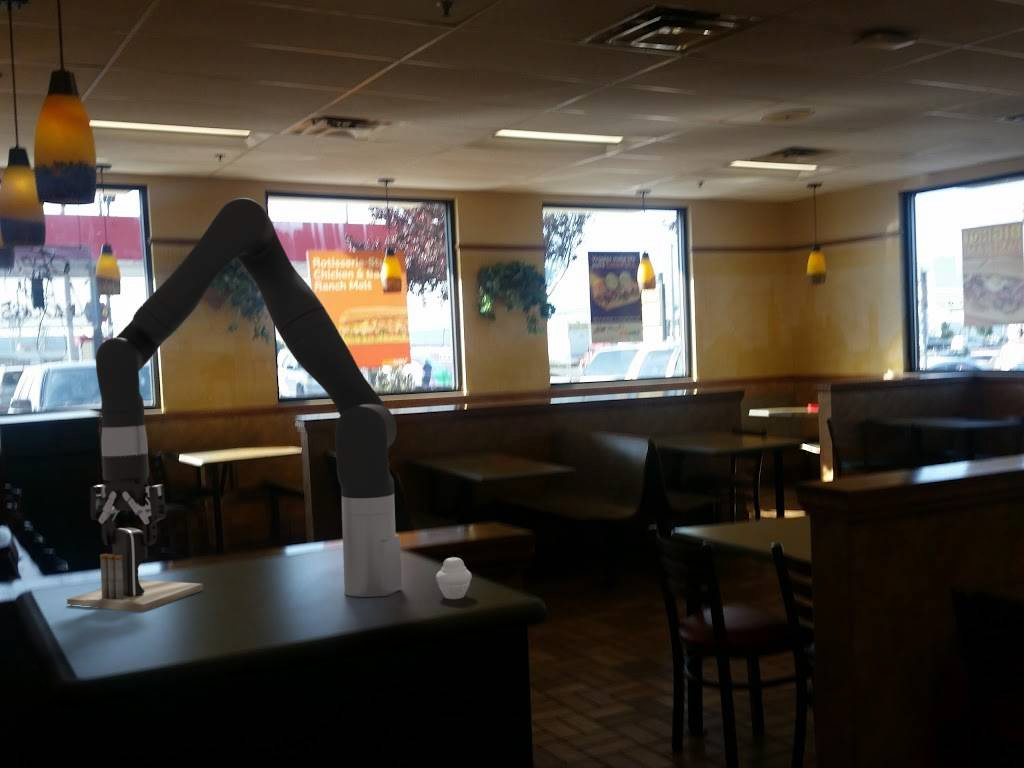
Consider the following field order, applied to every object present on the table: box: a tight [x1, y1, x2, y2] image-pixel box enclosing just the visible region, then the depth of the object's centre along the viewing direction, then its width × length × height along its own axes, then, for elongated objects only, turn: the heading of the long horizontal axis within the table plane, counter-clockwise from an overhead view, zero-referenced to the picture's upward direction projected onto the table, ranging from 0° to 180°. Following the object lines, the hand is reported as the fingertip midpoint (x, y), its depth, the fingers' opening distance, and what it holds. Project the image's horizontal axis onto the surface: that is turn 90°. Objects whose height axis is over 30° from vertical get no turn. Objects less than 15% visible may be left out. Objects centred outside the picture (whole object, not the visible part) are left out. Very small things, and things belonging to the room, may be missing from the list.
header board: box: [66, 553, 204, 612], centre depth 184 cm, size 16×16×9 cm
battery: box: [112, 527, 148, 596], centre depth 182 cm, size 7×4×11 cm, turn 43°
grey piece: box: [435, 556, 473, 600], centre depth 178 cm, size 6×6×7 cm
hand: (129, 544), depth 182 cm, fingers open, 8 cm apart
